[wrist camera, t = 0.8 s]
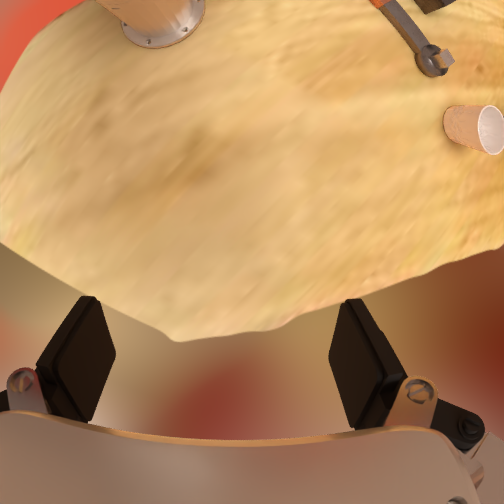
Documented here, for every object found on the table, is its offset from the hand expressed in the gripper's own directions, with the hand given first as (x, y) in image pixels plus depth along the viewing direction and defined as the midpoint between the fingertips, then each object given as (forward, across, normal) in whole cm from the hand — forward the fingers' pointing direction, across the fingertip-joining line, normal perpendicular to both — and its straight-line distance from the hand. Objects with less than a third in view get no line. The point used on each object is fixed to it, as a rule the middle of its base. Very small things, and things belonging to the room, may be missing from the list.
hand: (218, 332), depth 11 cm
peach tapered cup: (+34, -38, -12) cm, 53 cm away
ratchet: (+34, -26, -28) cm, 51 cm away
